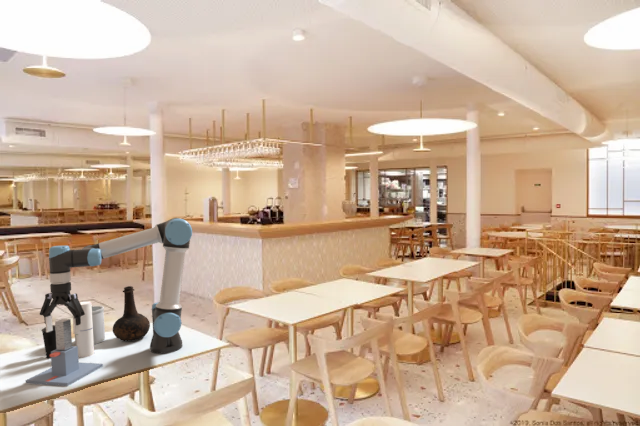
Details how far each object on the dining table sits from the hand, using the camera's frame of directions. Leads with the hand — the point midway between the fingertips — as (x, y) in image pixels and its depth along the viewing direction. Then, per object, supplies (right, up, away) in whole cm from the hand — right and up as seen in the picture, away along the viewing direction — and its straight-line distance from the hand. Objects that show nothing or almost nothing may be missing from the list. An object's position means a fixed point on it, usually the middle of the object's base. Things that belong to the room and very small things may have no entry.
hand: (62, 332), depth 183 cm
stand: (+1, -18, +1) cm, 18 cm away
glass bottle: (+9, -17, +46) cm, 50 cm away
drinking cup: (-19, -18, +23) cm, 35 cm away
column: (+1, -17, +1) cm, 17 cm away
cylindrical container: (-3, -18, +24) cm, 30 cm away
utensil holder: (-12, -17, +43) cm, 48 cm away
